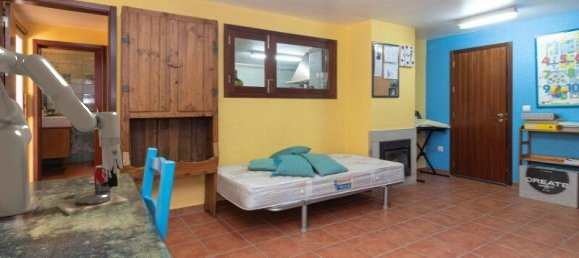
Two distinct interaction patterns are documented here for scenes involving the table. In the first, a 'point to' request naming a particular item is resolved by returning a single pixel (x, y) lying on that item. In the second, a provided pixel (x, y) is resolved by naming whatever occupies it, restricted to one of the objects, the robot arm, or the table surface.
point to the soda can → (100, 175)
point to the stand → (75, 209)
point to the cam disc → (94, 195)
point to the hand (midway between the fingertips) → (113, 186)
